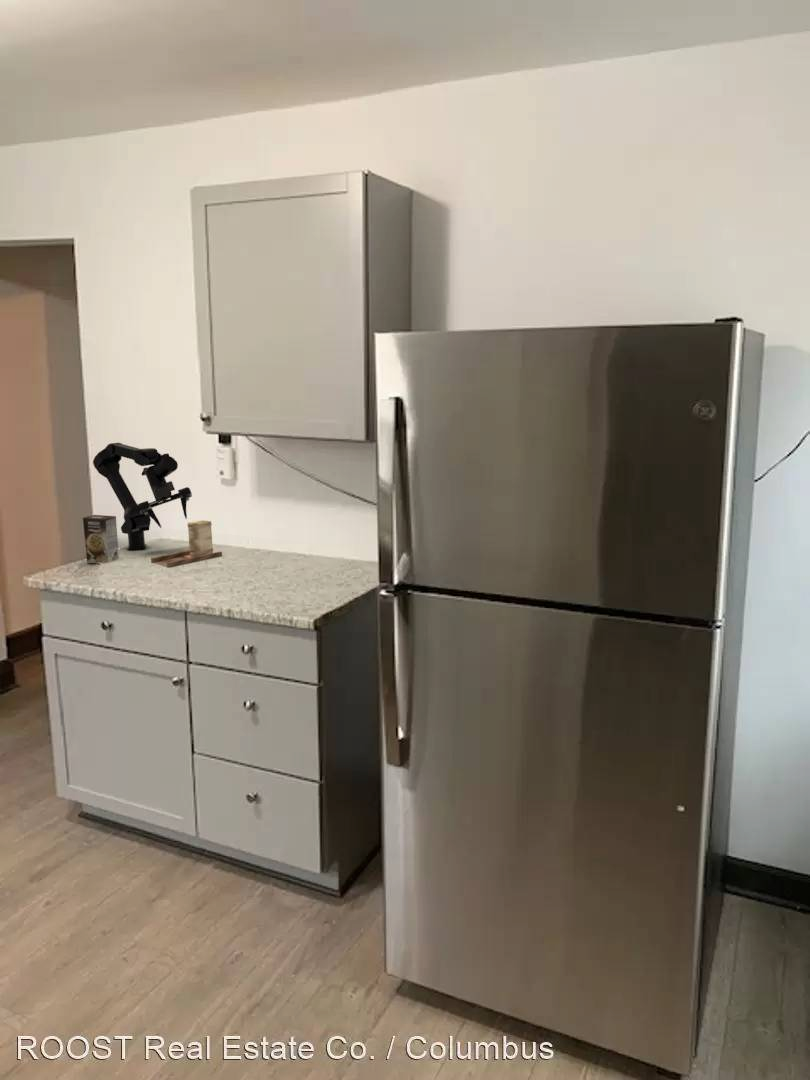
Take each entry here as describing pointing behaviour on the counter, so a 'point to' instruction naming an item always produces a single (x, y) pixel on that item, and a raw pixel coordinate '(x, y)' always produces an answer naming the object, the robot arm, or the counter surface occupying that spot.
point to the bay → (182, 558)
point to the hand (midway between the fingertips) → (173, 523)
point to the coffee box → (101, 538)
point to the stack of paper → (200, 538)
